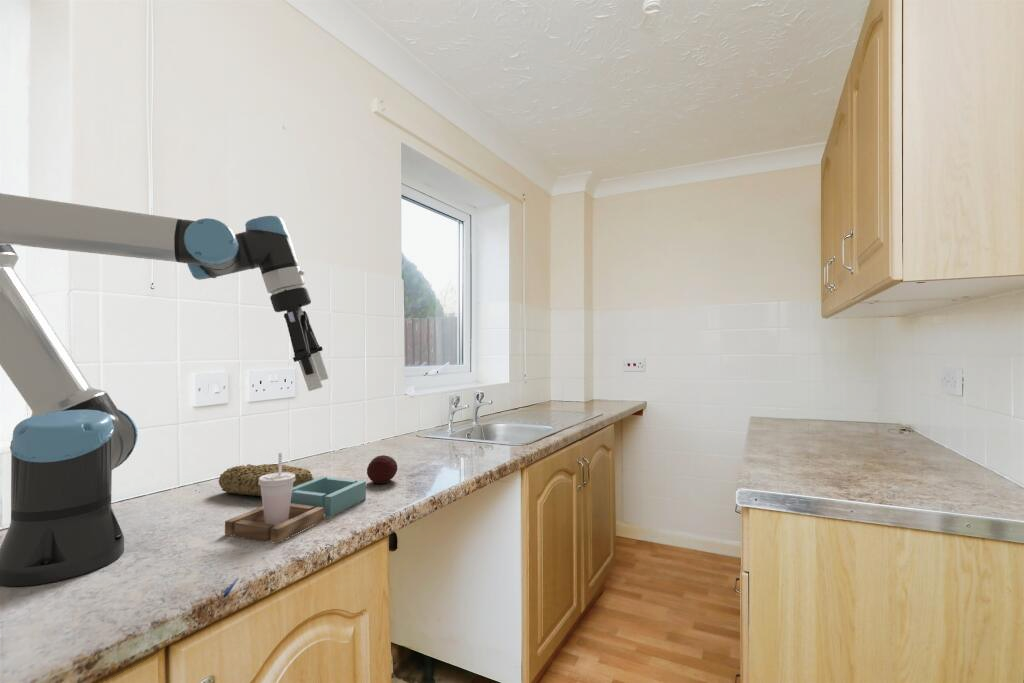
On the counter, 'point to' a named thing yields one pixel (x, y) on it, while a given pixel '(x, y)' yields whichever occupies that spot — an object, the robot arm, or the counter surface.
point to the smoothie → (276, 495)
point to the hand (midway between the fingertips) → (319, 384)
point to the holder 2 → (329, 494)
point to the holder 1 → (254, 529)
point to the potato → (382, 469)
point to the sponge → (256, 477)
